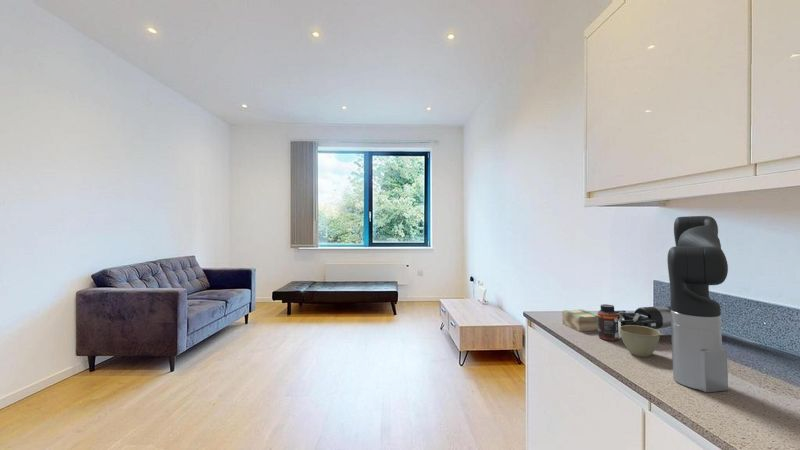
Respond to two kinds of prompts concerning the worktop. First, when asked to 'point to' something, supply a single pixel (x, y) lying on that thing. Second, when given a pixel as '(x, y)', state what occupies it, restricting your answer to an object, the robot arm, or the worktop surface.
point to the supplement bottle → (608, 323)
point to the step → (580, 320)
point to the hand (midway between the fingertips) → (611, 320)
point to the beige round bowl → (639, 339)
